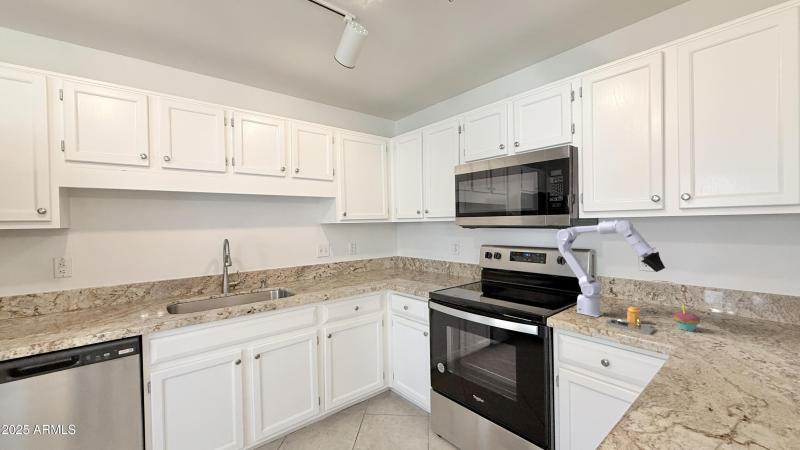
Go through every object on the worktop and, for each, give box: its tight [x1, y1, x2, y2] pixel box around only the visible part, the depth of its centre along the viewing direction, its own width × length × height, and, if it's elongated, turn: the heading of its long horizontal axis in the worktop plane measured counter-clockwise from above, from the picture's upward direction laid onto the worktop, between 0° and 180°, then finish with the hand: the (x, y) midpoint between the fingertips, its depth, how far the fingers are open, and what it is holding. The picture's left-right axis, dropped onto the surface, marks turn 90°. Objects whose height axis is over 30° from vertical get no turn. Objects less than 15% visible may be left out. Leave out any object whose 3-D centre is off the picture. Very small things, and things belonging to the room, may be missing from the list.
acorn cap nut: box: [626, 306, 642, 323], centre depth 144 cm, size 5×5×7 cm
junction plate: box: [605, 317, 657, 335], centre depth 138 cm, size 16×9×4 cm, turn 39°
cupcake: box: [672, 302, 701, 332], centre depth 134 cm, size 9×8×12 cm
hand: (660, 270), depth 136 cm, fingers open, 7 cm apart
